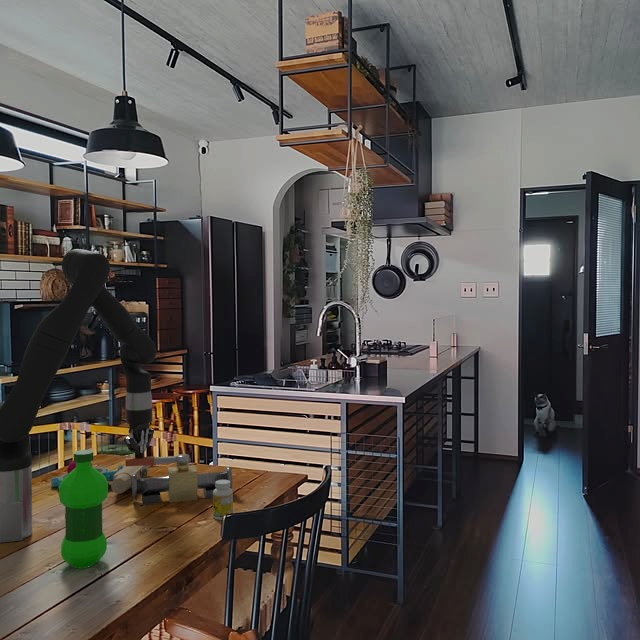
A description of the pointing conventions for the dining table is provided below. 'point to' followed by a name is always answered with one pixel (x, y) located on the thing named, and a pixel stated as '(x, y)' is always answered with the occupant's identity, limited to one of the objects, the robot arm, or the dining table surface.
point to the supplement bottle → (222, 499)
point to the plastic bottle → (83, 512)
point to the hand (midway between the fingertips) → (139, 464)
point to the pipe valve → (178, 484)
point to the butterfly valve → (114, 477)
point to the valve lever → (157, 460)
